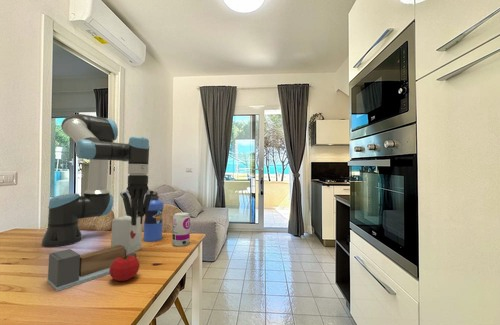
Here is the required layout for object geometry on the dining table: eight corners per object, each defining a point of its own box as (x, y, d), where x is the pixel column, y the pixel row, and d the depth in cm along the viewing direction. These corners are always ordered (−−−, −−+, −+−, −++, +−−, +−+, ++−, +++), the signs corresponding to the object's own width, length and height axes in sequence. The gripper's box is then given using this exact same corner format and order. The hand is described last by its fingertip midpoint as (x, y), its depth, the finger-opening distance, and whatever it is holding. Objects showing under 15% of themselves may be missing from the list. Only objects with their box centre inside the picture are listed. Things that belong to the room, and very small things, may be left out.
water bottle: (139, 240, 116) (140, 192, 117) (152, 235, 125) (154, 190, 126) (153, 242, 113) (154, 192, 114) (166, 237, 122) (167, 191, 123)
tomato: (136, 283, 72) (137, 258, 73) (105, 287, 70) (106, 260, 70) (141, 271, 81) (142, 249, 81) (113, 274, 78) (114, 251, 79)
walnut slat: (76, 273, 76) (76, 255, 77) (118, 260, 88) (119, 244, 88) (80, 276, 74) (81, 258, 74) (124, 262, 86) (124, 246, 86)
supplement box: (127, 255, 96) (129, 220, 96) (109, 253, 98) (111, 218, 98) (142, 248, 105) (143, 216, 105) (125, 247, 106) (126, 215, 107)
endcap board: (47, 281, 73) (48, 253, 73) (123, 258, 92) (124, 236, 93) (57, 291, 67) (58, 260, 67) (136, 264, 87) (137, 241, 87)
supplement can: (192, 242, 114) (193, 213, 114) (181, 247, 106) (182, 215, 107) (180, 240, 117) (181, 211, 118) (168, 245, 110) (169, 214, 110)
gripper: (126, 174, 85) (124, 238, 84) (158, 174, 96) (156, 231, 94) (117, 174, 89) (115, 234, 88) (148, 174, 100) (146, 228, 99)
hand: (136, 232), depth 91 cm, fingers closed
